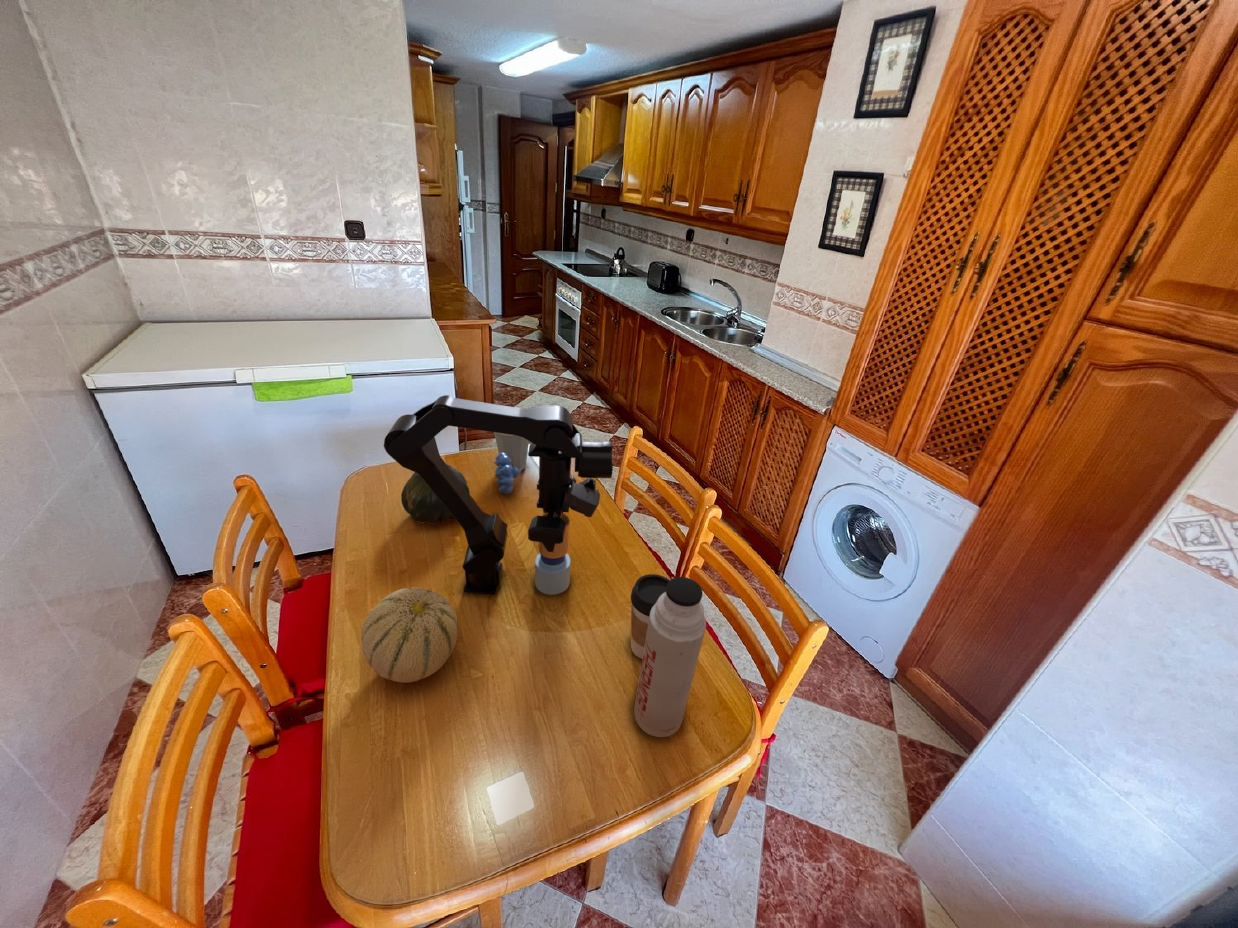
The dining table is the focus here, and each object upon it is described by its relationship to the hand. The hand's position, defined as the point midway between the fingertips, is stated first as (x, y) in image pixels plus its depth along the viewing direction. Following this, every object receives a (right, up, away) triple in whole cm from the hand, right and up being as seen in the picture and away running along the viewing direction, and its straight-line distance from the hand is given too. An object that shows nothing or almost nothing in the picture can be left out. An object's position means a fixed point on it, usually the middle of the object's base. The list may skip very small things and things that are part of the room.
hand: (553, 540), depth 98 cm
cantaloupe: (-22, -19, -13) cm, 32 cm away
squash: (-31, +3, +22) cm, 38 cm away
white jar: (-1, -10, +6) cm, 11 cm away
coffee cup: (+18, -19, -6) cm, 27 cm away
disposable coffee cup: (-17, +14, +44) cm, 49 cm away
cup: (0, -2, +1) cm, 2 cm away
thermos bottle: (+19, -26, -18) cm, 37 cm away
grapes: (-16, +8, +33) cm, 37 cm away
